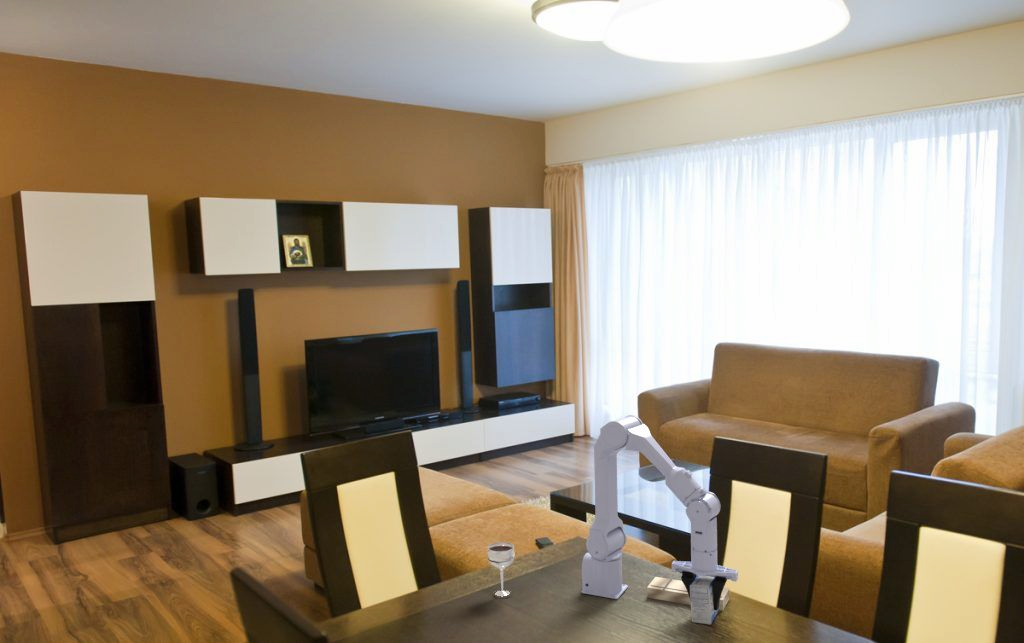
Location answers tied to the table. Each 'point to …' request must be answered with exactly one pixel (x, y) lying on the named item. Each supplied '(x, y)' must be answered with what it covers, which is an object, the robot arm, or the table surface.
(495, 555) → the wineglass
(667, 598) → the cream striped flat box
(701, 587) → the medicine box
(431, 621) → the table surface
